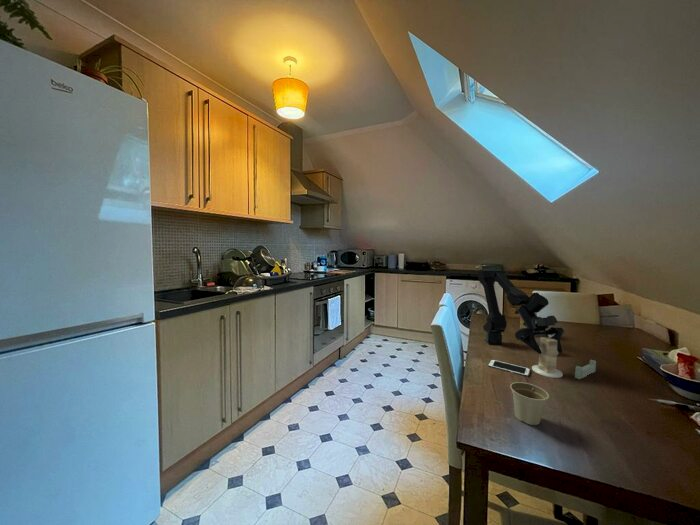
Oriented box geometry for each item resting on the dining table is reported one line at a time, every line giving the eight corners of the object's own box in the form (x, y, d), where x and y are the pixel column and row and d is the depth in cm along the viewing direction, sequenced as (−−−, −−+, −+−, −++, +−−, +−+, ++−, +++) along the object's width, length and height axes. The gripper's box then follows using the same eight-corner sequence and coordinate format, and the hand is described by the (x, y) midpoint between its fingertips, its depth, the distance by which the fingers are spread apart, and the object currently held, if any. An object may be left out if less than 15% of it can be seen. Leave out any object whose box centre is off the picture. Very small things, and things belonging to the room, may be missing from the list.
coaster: (540, 376, 103) (540, 375, 103) (527, 365, 113) (527, 364, 113) (568, 378, 102) (568, 377, 101) (552, 367, 111) (552, 365, 111)
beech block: (538, 368, 109) (540, 337, 108) (547, 367, 109) (548, 337, 109) (546, 373, 105) (548, 340, 104) (555, 372, 105) (557, 340, 105)
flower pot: (555, 426, 75) (557, 396, 74) (530, 432, 72) (531, 402, 71) (525, 406, 84) (526, 380, 83) (501, 411, 81) (502, 384, 80)
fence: (575, 377, 103) (575, 366, 102) (590, 370, 109) (591, 359, 109) (579, 379, 101) (580, 368, 101) (595, 371, 108) (596, 361, 107)
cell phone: (490, 361, 118) (490, 358, 118) (530, 370, 109) (530, 368, 109) (487, 367, 112) (487, 365, 112) (528, 378, 103) (529, 375, 103)
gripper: (521, 309, 108) (543, 345, 98) (561, 307, 111) (587, 343, 101) (506, 322, 117) (525, 357, 106) (544, 321, 119) (566, 355, 109)
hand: (551, 353), depth 105 cm, fingers open, 9 cm apart
